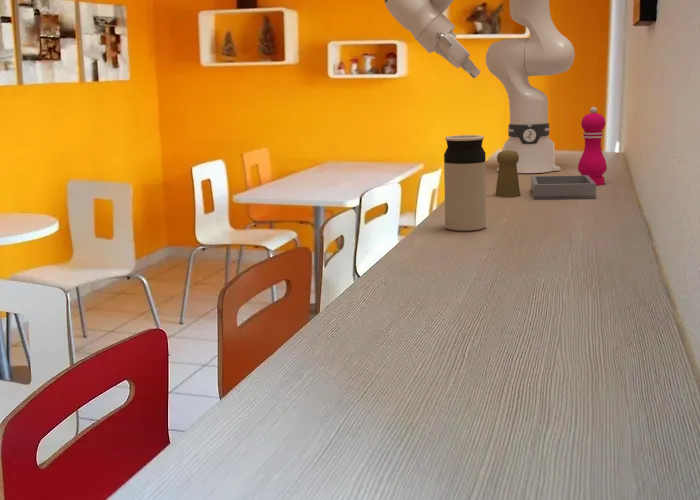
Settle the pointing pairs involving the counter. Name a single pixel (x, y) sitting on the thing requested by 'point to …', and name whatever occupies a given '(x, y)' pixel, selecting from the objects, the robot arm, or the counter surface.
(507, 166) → the brown pawn
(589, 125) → the pepper mill
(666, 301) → the counter surface
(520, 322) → the counter surface
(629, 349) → the counter surface
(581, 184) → the tray
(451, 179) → the travel mug
